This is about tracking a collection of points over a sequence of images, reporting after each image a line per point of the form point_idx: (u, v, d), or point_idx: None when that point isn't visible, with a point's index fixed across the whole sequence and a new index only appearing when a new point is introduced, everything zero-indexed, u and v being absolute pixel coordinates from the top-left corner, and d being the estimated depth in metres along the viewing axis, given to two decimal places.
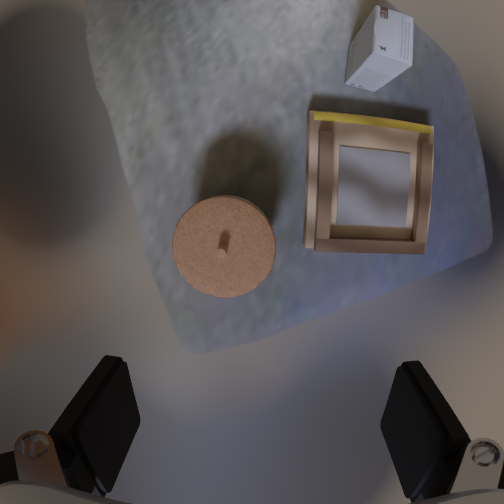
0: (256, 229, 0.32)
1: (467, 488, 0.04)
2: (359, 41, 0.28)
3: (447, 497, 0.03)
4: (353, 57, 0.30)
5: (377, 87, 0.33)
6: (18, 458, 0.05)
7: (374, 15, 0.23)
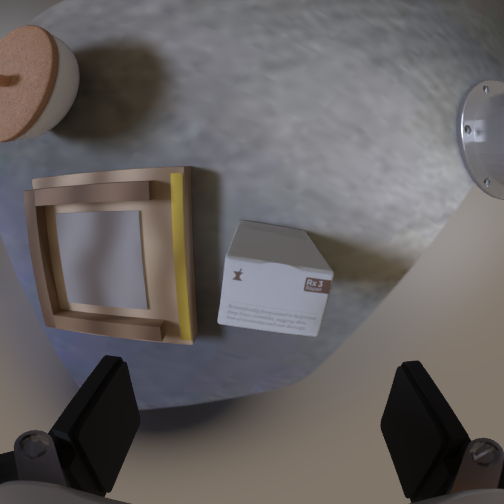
0: (19, 113, 0.19)
1: (467, 488, 0.04)
2: (287, 241, 0.22)
3: (447, 497, 0.03)
4: (268, 231, 0.25)
5: None
6: (18, 458, 0.05)
7: (310, 267, 0.17)
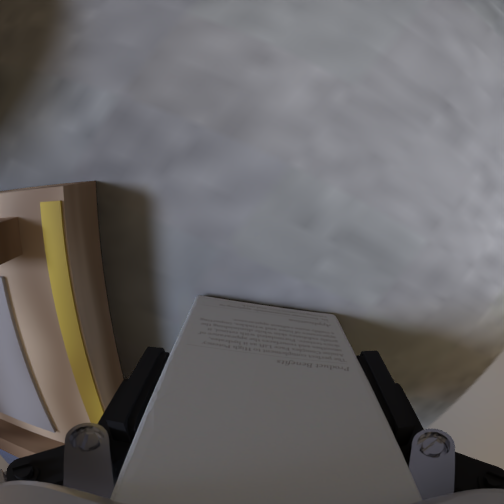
0: None
1: None
2: (306, 403, 0.07)
3: (447, 497, 0.03)
4: (255, 350, 0.09)
5: None
6: (72, 452, 0.06)
7: None
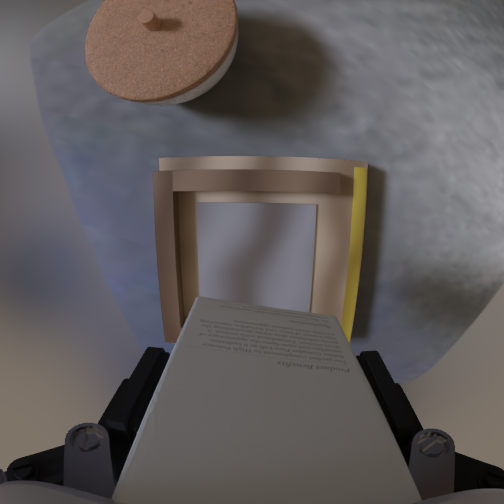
0: (182, 66, 0.17)
1: None
2: (307, 405, 0.07)
3: (447, 497, 0.03)
4: (255, 352, 0.09)
5: None
6: (72, 452, 0.06)
7: None
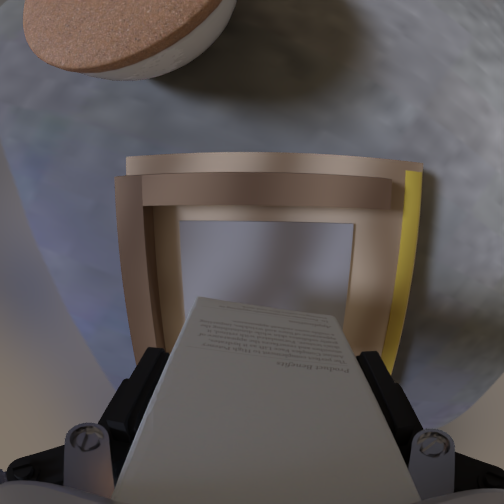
0: (151, 11, 0.09)
1: None
2: (306, 406, 0.07)
3: (447, 497, 0.03)
4: (255, 352, 0.09)
5: None
6: (72, 452, 0.06)
7: None
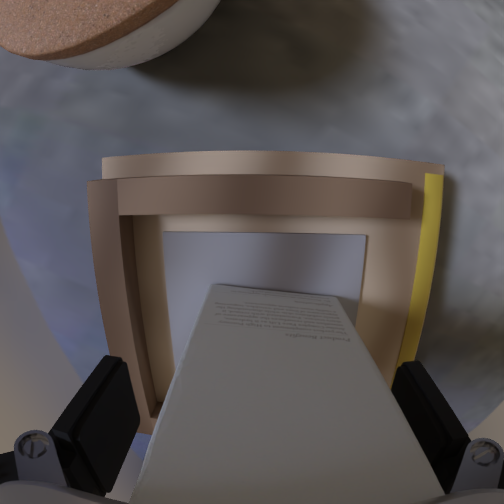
0: None
1: (467, 488, 0.04)
2: (313, 367, 0.09)
3: (447, 497, 0.03)
4: (265, 326, 0.11)
5: None
6: (18, 458, 0.05)
7: None
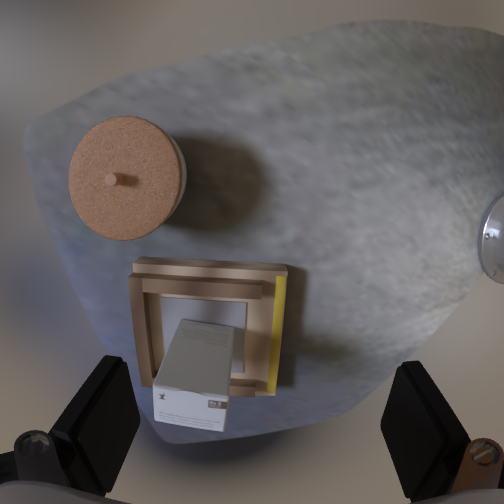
0: (141, 219, 0.26)
1: (467, 488, 0.04)
2: (208, 353, 0.28)
3: (447, 497, 0.03)
4: (197, 339, 0.30)
5: None
6: (18, 458, 0.05)
7: (212, 392, 0.23)
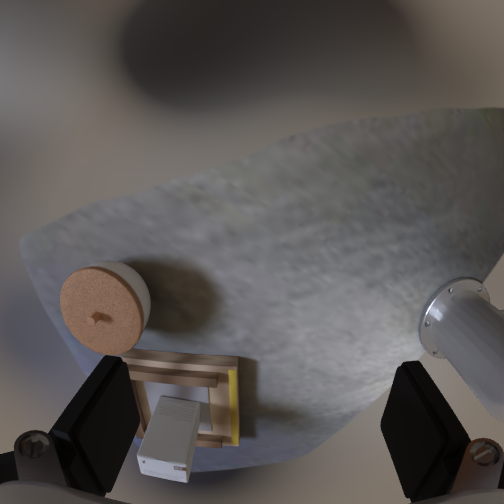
0: (118, 343, 0.33)
1: (467, 488, 0.04)
2: (177, 428, 0.35)
3: (447, 497, 0.03)
4: (170, 415, 0.37)
5: None
6: (18, 458, 0.05)
7: (175, 461, 0.30)
